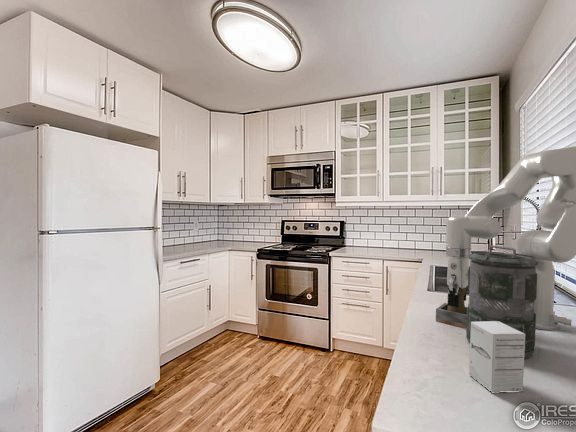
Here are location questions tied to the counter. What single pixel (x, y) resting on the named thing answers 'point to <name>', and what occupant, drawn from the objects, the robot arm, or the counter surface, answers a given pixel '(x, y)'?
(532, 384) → the counter surface
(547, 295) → the robot arm
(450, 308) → the olive tall flared cylinder
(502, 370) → the supplement box
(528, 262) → the canister
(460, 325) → the grey square tray
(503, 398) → the counter surface
